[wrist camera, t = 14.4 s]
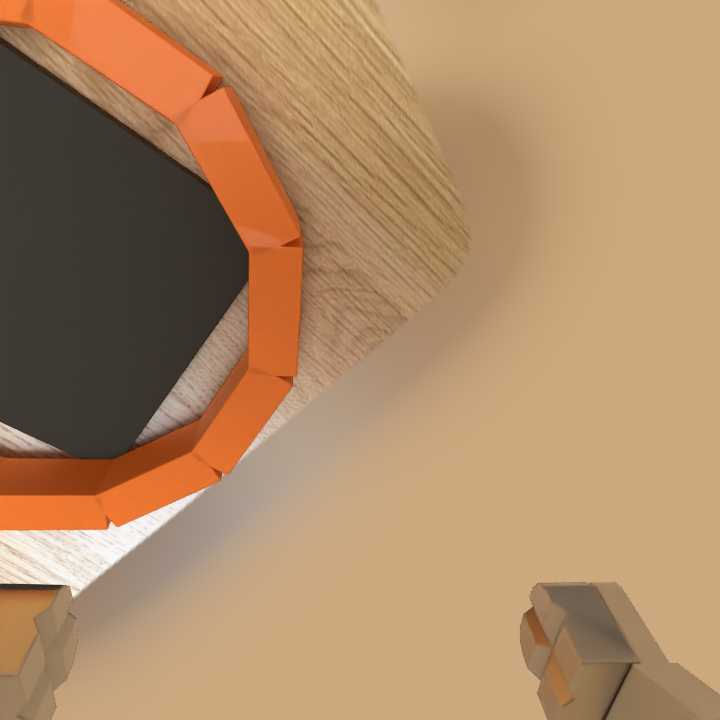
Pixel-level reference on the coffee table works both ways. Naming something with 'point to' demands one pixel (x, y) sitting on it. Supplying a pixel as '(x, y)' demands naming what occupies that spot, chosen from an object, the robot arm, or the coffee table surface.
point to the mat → (98, 267)
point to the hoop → (266, 278)
